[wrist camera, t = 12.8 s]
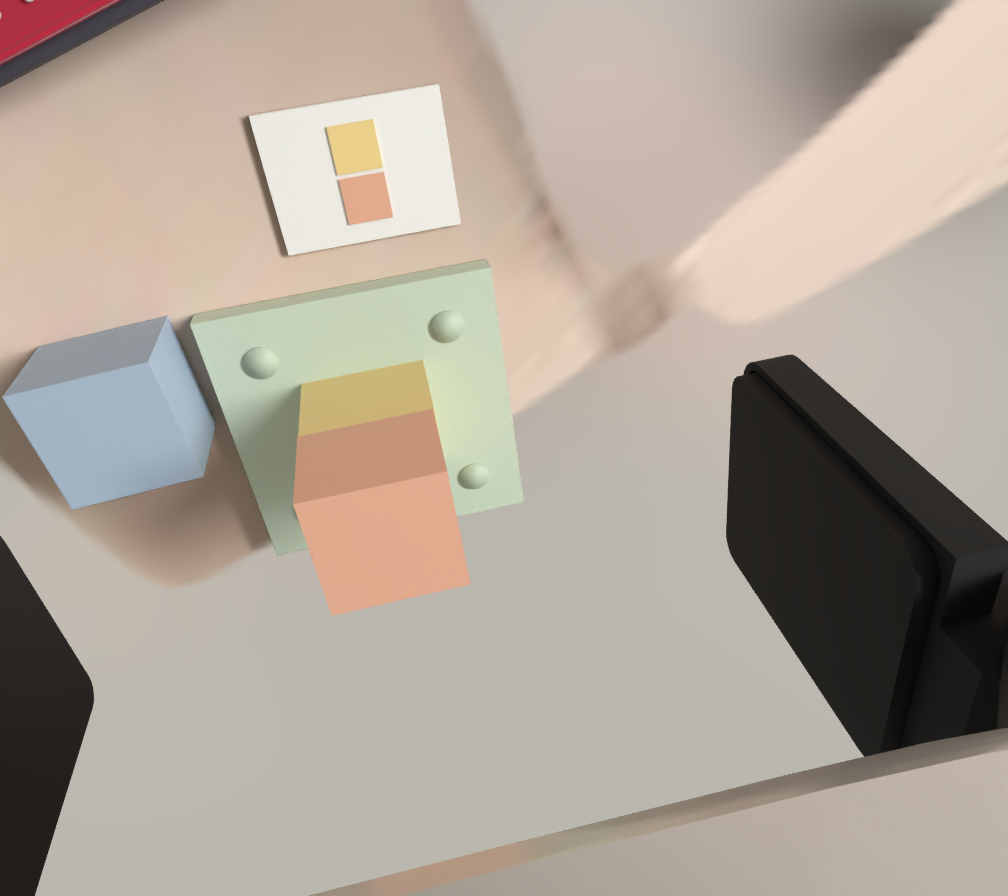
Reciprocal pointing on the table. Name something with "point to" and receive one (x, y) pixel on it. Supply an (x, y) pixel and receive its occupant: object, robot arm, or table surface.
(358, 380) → the ochre brick
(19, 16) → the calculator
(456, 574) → the terracotta brick
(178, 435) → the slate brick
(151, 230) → the table surface
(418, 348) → the build plate
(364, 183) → the tile
